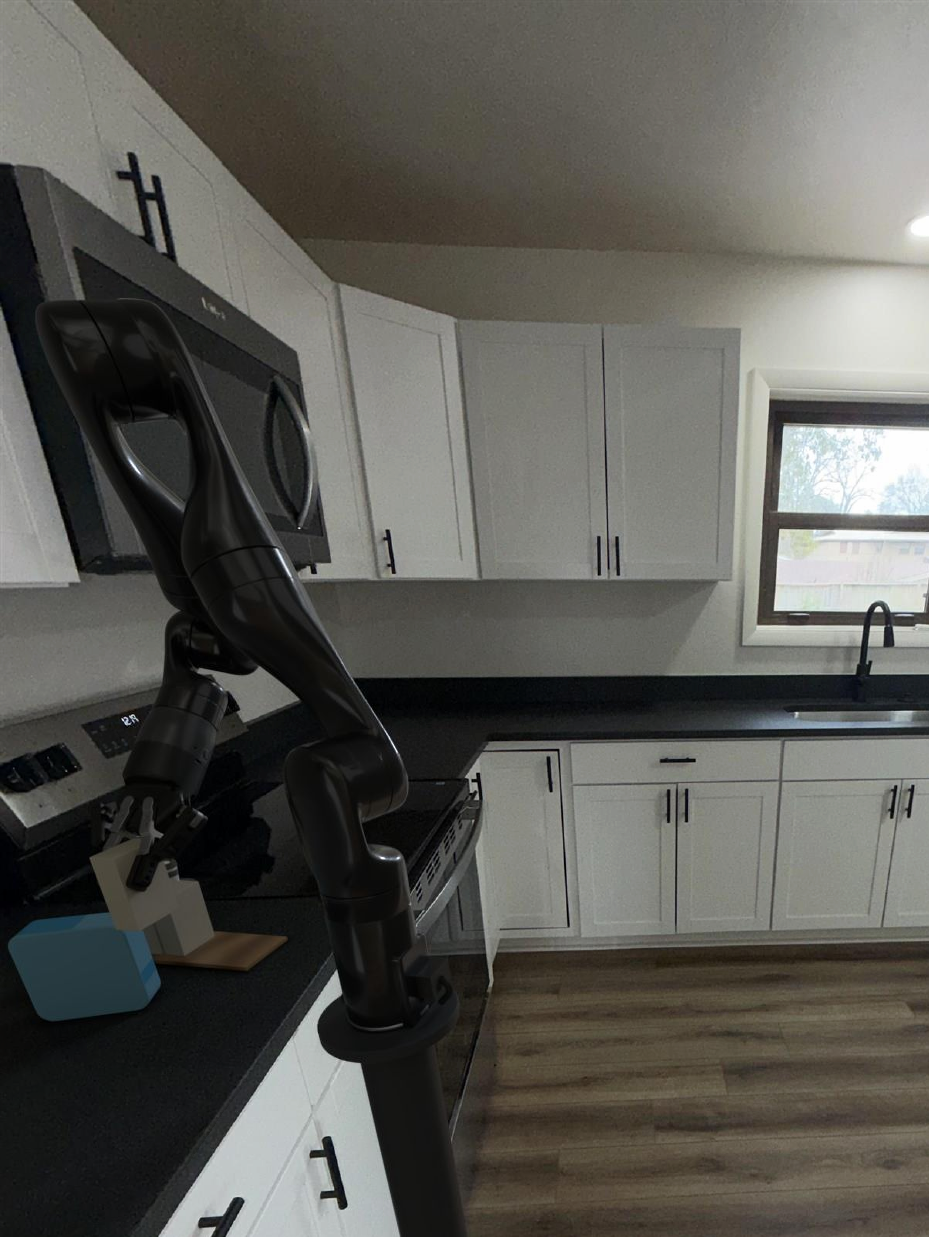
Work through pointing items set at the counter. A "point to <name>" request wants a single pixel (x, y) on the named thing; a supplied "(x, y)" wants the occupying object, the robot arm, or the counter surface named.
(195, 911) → the rack
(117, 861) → the beige block
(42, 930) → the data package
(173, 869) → the coffee cup
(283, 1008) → the counter surface
